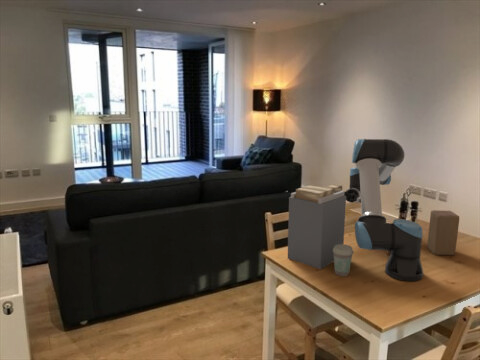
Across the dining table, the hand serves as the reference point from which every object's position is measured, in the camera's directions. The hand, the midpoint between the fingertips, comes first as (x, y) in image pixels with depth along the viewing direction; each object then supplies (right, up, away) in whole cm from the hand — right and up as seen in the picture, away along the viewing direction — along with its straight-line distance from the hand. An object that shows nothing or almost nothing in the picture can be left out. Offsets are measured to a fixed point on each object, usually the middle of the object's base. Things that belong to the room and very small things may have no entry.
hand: (343, 197), depth 192 cm
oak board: (-13, +2, -13) cm, 18 cm away
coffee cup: (-8, -32, -27) cm, 43 cm away
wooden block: (+47, -27, -4) cm, 54 cm away
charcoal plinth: (-16, -28, -10) cm, 34 cm away
